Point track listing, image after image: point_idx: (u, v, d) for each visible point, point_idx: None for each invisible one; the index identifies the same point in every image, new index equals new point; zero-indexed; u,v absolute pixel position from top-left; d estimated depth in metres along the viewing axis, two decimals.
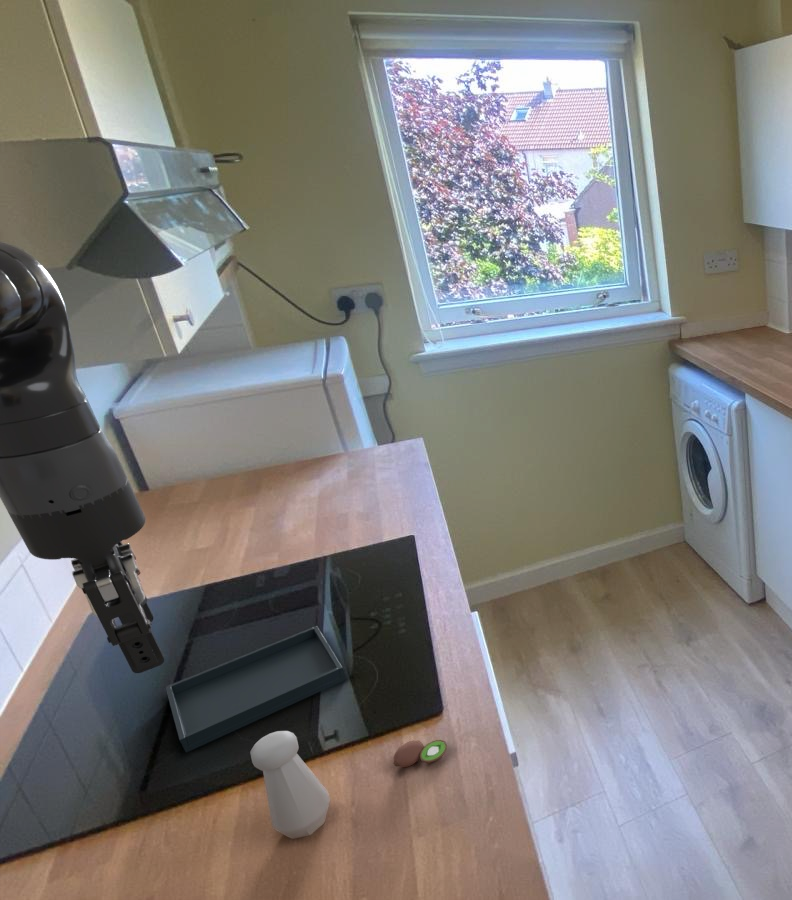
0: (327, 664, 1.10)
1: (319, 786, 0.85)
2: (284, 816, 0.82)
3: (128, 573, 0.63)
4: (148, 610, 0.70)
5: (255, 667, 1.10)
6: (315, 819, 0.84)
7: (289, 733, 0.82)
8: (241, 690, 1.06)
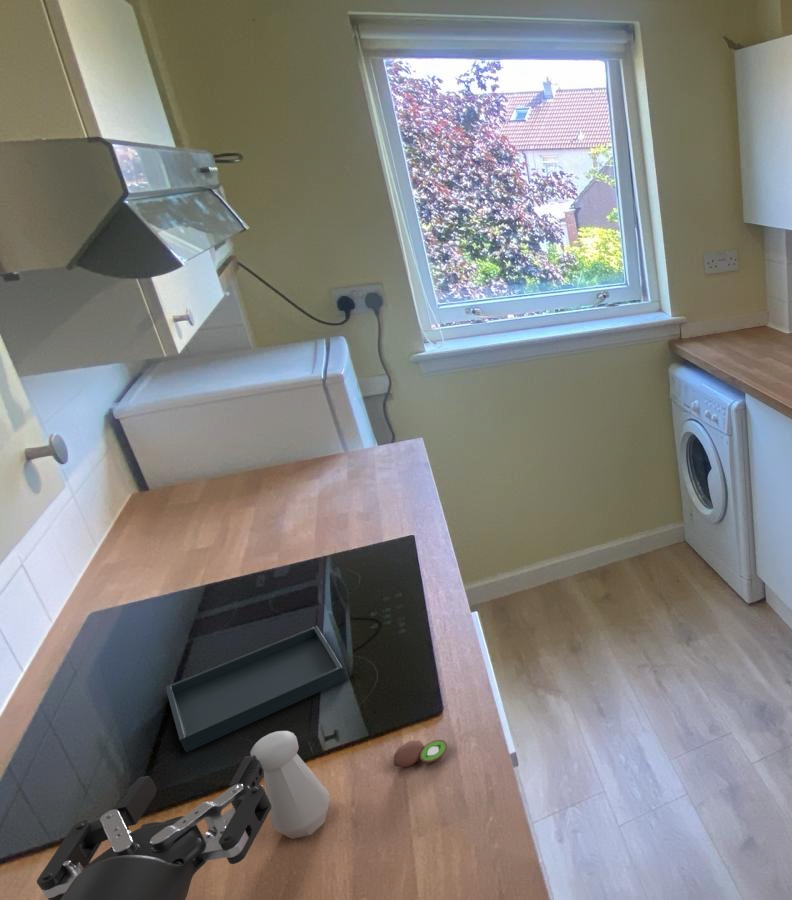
0: (327, 664, 1.10)
1: (319, 786, 0.85)
2: (284, 816, 0.82)
3: None
4: None
5: (255, 667, 1.10)
6: (315, 819, 0.84)
7: (289, 733, 0.82)
8: (241, 690, 1.06)
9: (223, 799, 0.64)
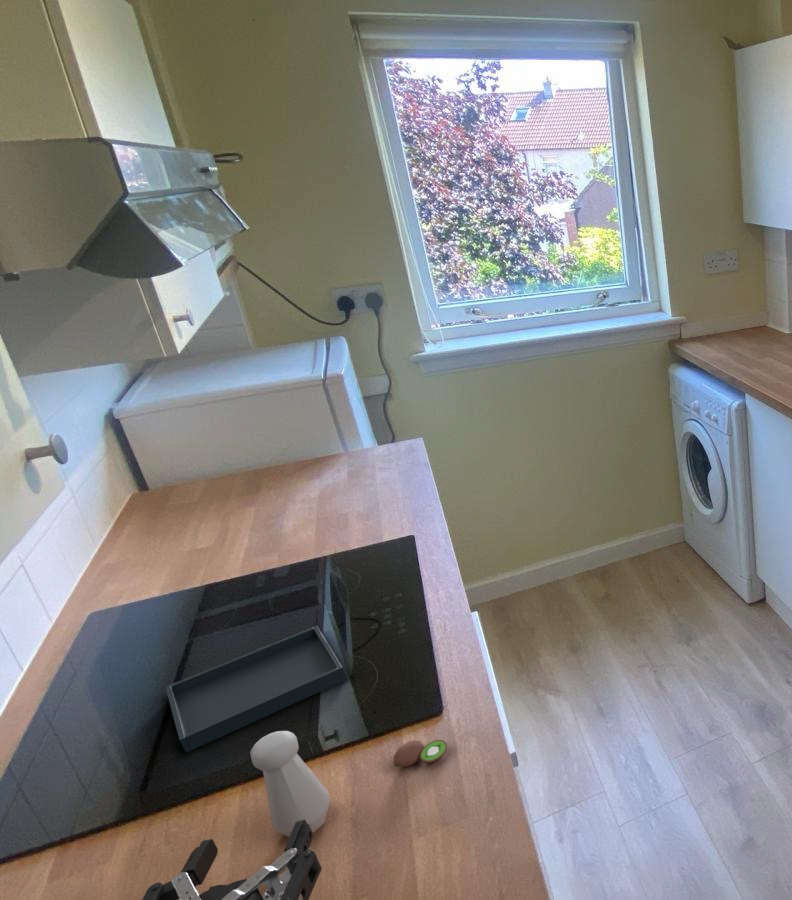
0: (327, 664, 1.10)
1: (319, 786, 0.85)
2: (284, 816, 0.82)
3: None
4: None
5: (255, 667, 1.10)
6: (315, 819, 0.84)
7: (289, 733, 0.82)
8: (241, 690, 1.06)
9: (280, 863, 0.71)
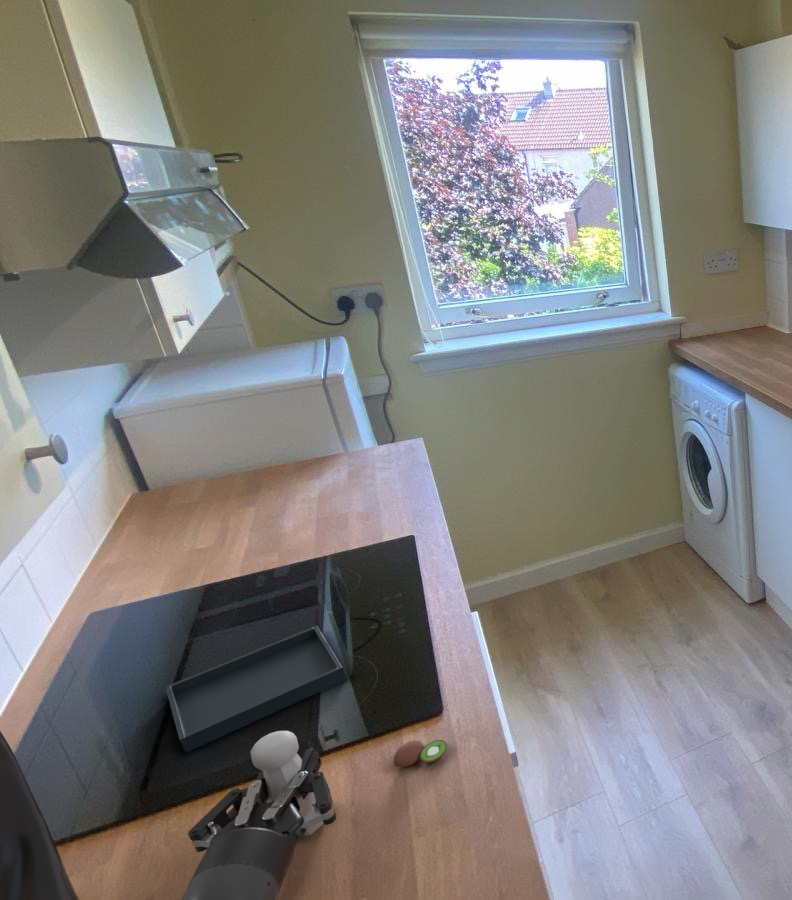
0: (327, 664, 1.10)
1: None
2: None
3: None
4: None
5: (255, 667, 1.10)
6: None
7: (289, 733, 0.82)
8: (241, 690, 1.06)
9: (297, 782, 0.81)
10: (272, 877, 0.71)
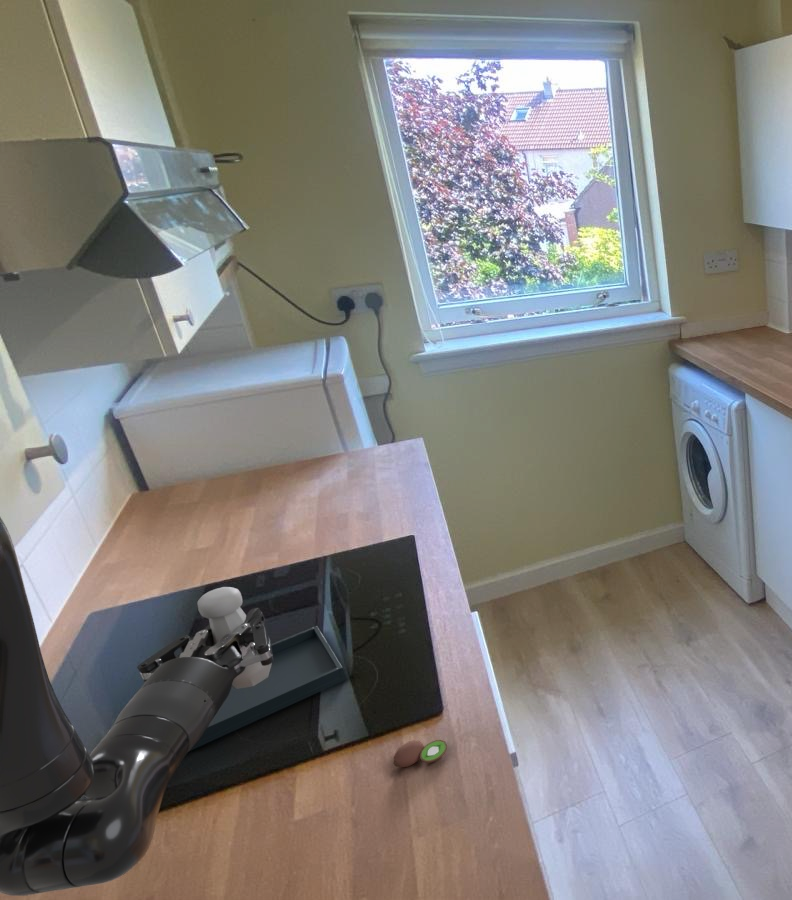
0: (327, 664, 1.10)
1: None
2: None
3: None
4: None
5: None
6: (258, 670, 0.92)
7: (234, 588, 0.90)
8: (241, 690, 1.06)
9: (239, 631, 0.89)
10: (209, 697, 0.79)
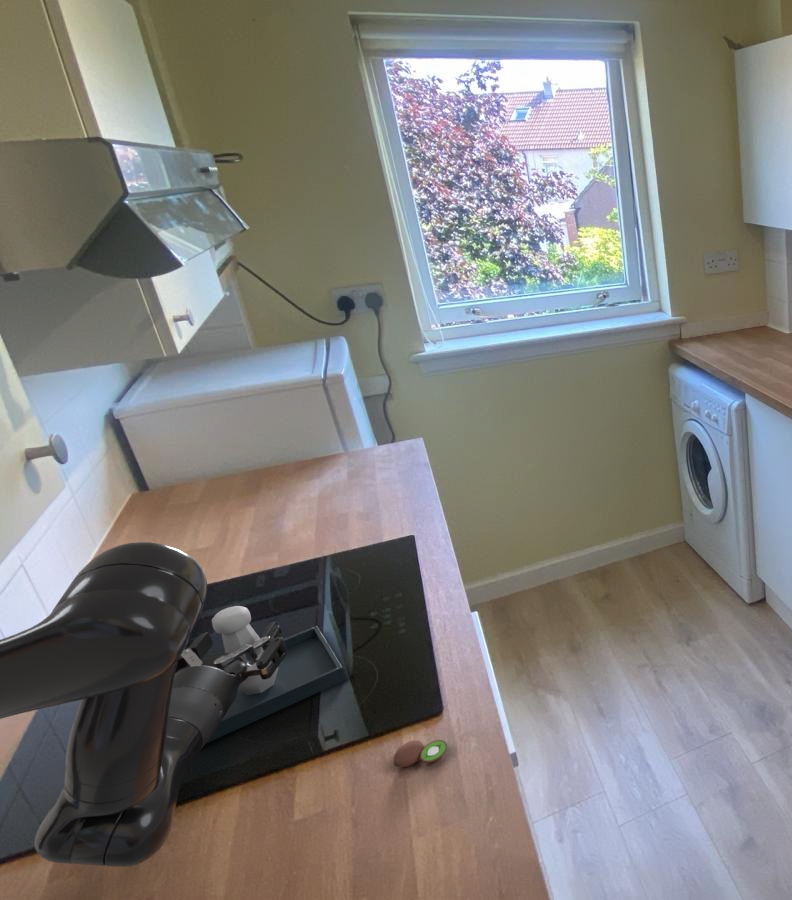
0: (327, 664, 1.10)
1: None
2: None
3: None
4: None
5: None
6: None
7: (243, 607, 1.02)
8: None
9: (257, 643, 1.00)
10: (218, 700, 0.91)
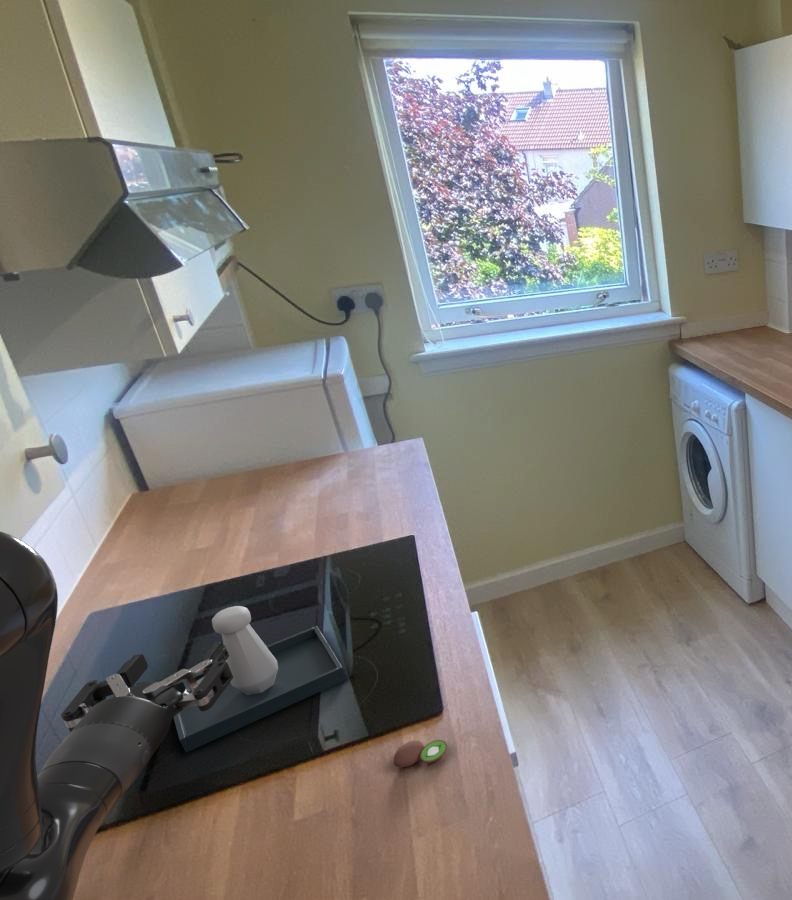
0: (327, 664, 1.10)
1: (269, 654, 1.06)
2: (239, 673, 1.02)
3: None
4: None
5: None
6: (265, 678, 1.04)
7: (243, 607, 1.02)
8: None
9: (197, 668, 0.86)
10: (144, 738, 0.77)
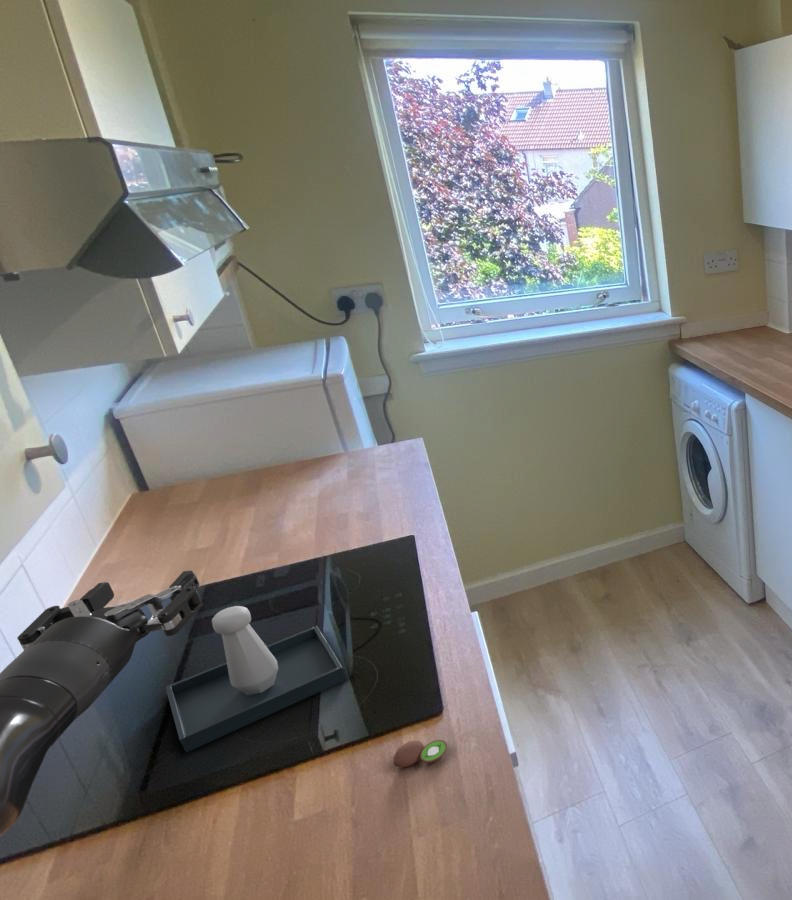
0: (327, 664, 1.10)
1: (269, 654, 1.06)
2: (239, 673, 1.02)
3: None
4: None
5: None
6: (265, 678, 1.04)
7: (243, 607, 1.02)
8: None
9: (163, 594, 0.82)
10: (103, 659, 0.73)
